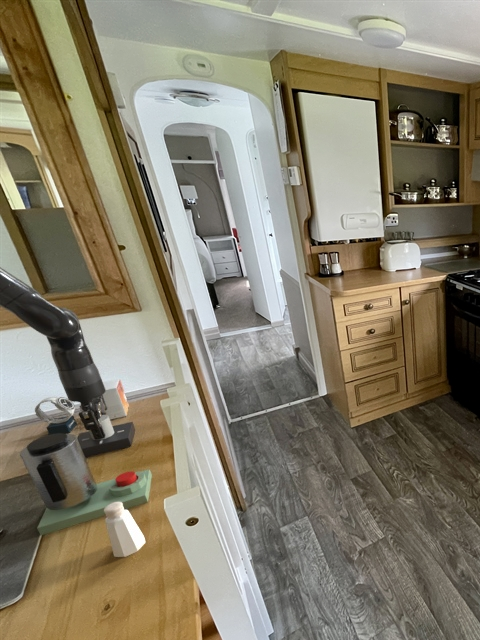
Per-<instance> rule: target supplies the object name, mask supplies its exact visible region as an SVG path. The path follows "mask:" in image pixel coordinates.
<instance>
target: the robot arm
mask: <svg viewBox="0 0 480 640" xmlns="http://www.w3.org/2000/svg"><path fill="white" fill-rule="evenodd" d="M0 307H1V308H2V309H4V310H5V311H7V312H10V313H11V314H13V315H14V316H15V317H17V318H18V319H19V320H21V321H22V322H23V323H25V324H26V325H28V327H30V328H31V329H33V330H35V331H36V332H38V333H39V334H40V335H42V336H45V337H46V339H47V341H48V344H49V346H50V353H51V358H52V361H53V363H54V365H55V367H56V370H57V373H58V377H59V380H60V383H61V385H62V387H63V389H64V392H65V394H66V398H67V399H69V400H70V401H72V402H73V403H80V405H79V410H80V412H78V417H79V419H80V421H81V422H82V424H83V427H84V429H85V430H86V431H89V430H91V432H92V434H93V436H94V439H95V440H98V439H102V438H105V433H104V430H103V428H102V426H101V425H102V424H101V421H100V418H102V415H106V414H107V412H106V411H105V410H107V407H106V404H105V401H104V397H103V394H104V393H105V391H106V390H105V387H104V384H103V382H104V381H103V379H102V377H101V373H100V372H99V368H98V366H97V365H96V363H95V361H94V358H93V356H92V353H91V351H90V349H89V347H88V345H87V344H86V341H85V337H84V333H83V329H82V325H81V323H80V320H79V317H78V316H77V314H76V313H75V312H74V311H72V310H70V309H68V308H66V307H61V306H57V305H54V304H53V303H51V302H50V301H48V300H47V299H45V298H44V297H43V296H42V294H41V293H40V292H38V291H37V290H36V289H35V288H34V287H32V286H30V285H29V284H27V283H26V282H25V281H23V280H21V279H19V278H18V277H16V276H15V275H13V274H11V273H10V272H8V271H7V270H6V269H4V268H2V267H1V266H0ZM91 423H94V424H91Z"/></svg>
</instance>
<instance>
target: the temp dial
mask: <svg viewBox="0 0 480 640" xmlns="http://www.w3.org/2000/svg"><path fill="white" fill-rule="evenodd" d="M100 421H101V424H102V425H101V426H102V428H103V430H104V433H105V438H102V439H106V438H108V437H110V436H112V435H113V434H114V430H113V427H112V426H113V425H112V421H111V420H110V419H109V416H108V415H102V418H100ZM91 424H94V423H91ZM88 431H89V432H90V435H91V437H92V439H93V440H95V439H94V436H93V434H92V432H91V430H88ZM102 439H98V440H102Z"/></svg>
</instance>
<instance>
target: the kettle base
mask: <svg viewBox="0 0 480 640" xmlns="http://www.w3.org/2000/svg"><path fill="white" fill-rule="evenodd" d="M134 472H135V474H136V477H137V480H136V481H135V482H134V483H132V484H130V485H128V486H124V487H118V485H117V483H116V480H115V479H116V478H113V479H108V480H105V481H101V482H98V483H96V484H97V487H98V488H97V491H96V492H95V493H94V494H93V495H92V496H91V497H90V498H88V499H87V500H85V501H83V502H81V503H79V504H77V505H75V506H72V507H69V508H66V509H61V510H50V509H48V508H47V507H45V510H44V512H43V514H42V517H41V519H40V520H39V523H38V525H37V527H36V528H37V531H38V533H39V535H40V536H45V535H47V534H50V533H53V532H57V531H60V530H63V529H66V528H71V527H73V526H75V525H79V524H83V523H85V522H89V521H92V520H95V519H98V518H102V517H105V516H106V513H105V512H104V509H105V507H106V506H108V505H109V504H111V503H114V502H122V504H123V507H124V510H128V509H131V508H134V507H137V506H140V505H143V504H146V503H149V497H150V491H151V484H152V478H153V474H152V472H151V469H150V468H148V469H144V470H141V471H134Z"/></svg>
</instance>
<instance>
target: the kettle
mask: <svg viewBox="0 0 480 640" xmlns="http://www.w3.org/2000/svg"><path fill="white" fill-rule="evenodd" d="M77 437H78V436H77V435H75V434H72V433H67V434H64V433H57V434H51V435H49V434H48V435H43V436H42V437H38V438H36V439H34V440H32V441H31V442H29V443H28V444H27V445H26V446H25V447H24V448H23V449H21V450H20V452H19V456H20V458H21V461H23V465H24V466H25V468H26V470H27V472H28V474H29V476H30V478H31V480H32V482H33V484H34V486H35V488H36V490H37V492H38V494H39V496H40V498H41V499H42V502H43V504H44V506H45V508H48V509H50V510H61V509H66V508H69V507H72V506H75V505H77V504H79V503H81V502H83V501H85V500H87V499H88V498H90V497H91V496H92V495H93V494H94V493H95V492H96V491H97V488H98V487H97V484H98V483H97V482H96V480H95V477H94V475H93V473H92V470H91V468H90V465H89V463H88V461H87V457H86V458H85V456H84V454H83V451H82V449H81V447H80V444H79V442H78V439H77Z"/></svg>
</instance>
